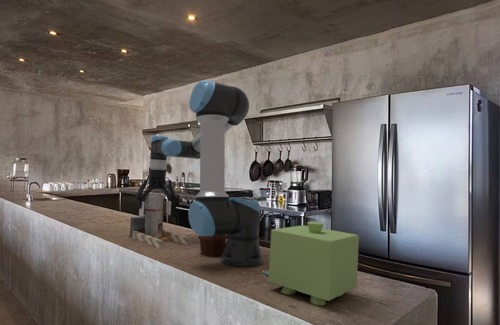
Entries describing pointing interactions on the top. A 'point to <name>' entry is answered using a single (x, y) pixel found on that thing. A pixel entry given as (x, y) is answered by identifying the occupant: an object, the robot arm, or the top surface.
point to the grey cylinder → (154, 215)
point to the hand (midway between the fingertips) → (155, 215)
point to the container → (314, 261)
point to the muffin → (212, 245)
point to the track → (139, 233)
